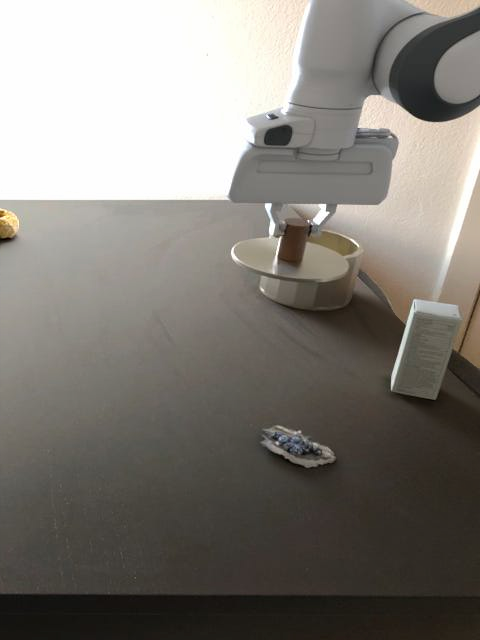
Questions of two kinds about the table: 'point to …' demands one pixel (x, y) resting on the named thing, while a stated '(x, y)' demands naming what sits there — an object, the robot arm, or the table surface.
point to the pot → (321, 293)
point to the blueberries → (296, 446)
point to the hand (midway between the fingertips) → (293, 235)
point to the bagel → (8, 224)
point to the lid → (291, 256)
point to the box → (425, 348)
